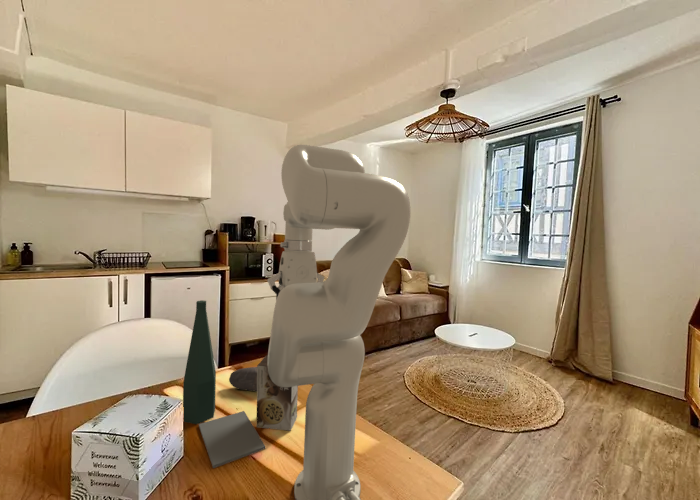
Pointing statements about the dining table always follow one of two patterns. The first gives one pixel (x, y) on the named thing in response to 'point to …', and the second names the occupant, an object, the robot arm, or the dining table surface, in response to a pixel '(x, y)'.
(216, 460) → the mat
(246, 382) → the perforated stone tool
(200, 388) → the bottle
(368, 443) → the dining table surface
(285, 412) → the coffee box
